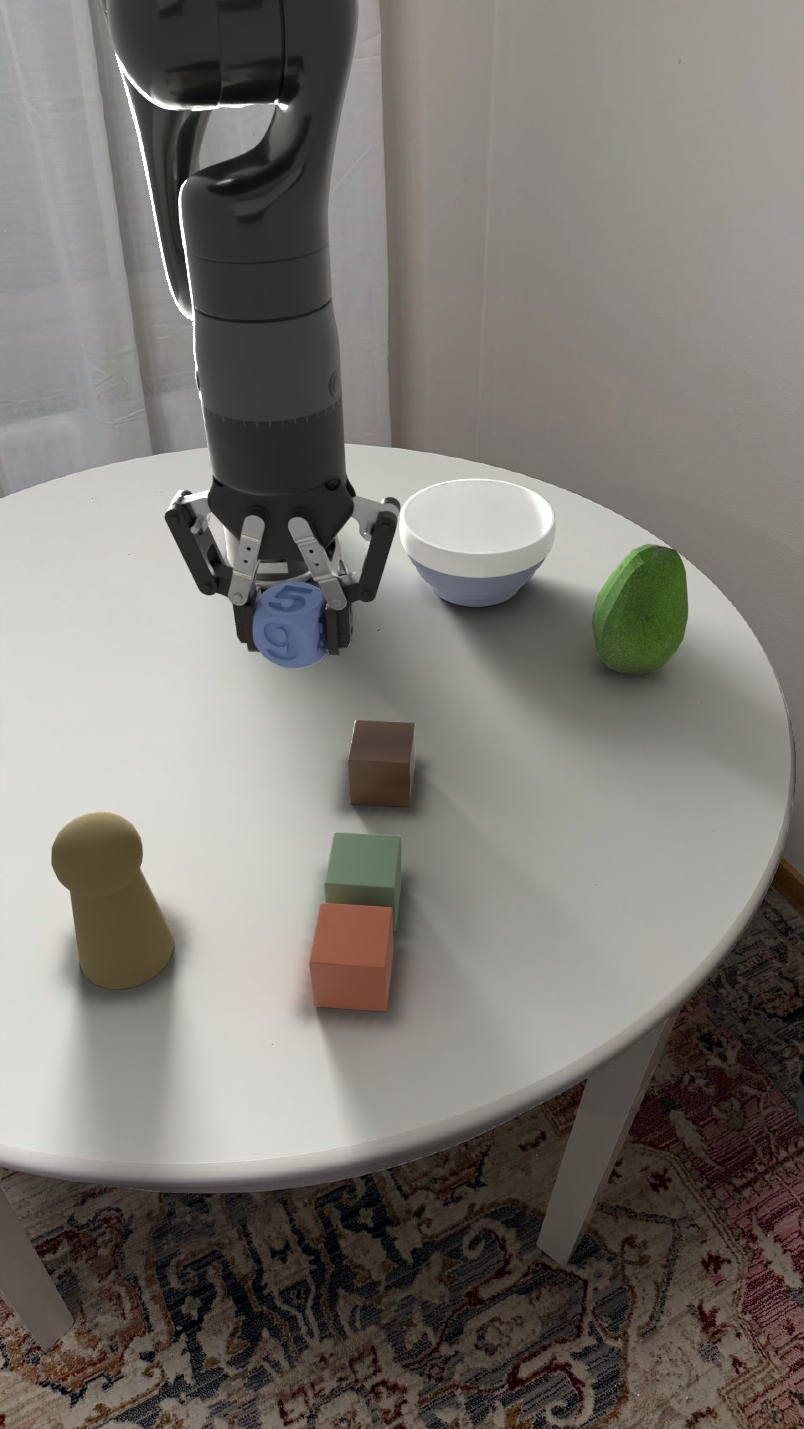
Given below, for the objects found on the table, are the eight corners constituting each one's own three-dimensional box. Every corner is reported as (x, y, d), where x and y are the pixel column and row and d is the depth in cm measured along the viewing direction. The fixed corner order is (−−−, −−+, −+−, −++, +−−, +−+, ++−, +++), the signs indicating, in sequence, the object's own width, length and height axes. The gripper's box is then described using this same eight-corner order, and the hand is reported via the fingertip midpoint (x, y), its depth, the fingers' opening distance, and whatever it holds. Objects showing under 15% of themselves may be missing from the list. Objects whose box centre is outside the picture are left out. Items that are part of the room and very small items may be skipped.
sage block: (337, 876, 70) (333, 831, 67) (402, 879, 69) (401, 835, 66) (328, 928, 66) (323, 883, 63) (395, 932, 66) (394, 887, 63)
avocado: (692, 686, 85) (719, 565, 77) (604, 699, 84) (623, 577, 76) (655, 633, 91) (676, 515, 83) (572, 644, 90) (587, 526, 82)
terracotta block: (324, 946, 65) (320, 902, 62) (393, 951, 65) (392, 906, 62) (313, 1006, 62) (308, 962, 59) (386, 1012, 61) (385, 967, 58)
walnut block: (357, 763, 78) (355, 719, 76) (415, 766, 78) (414, 722, 75) (350, 804, 75) (347, 760, 72) (410, 807, 75) (409, 763, 72)
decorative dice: (336, 637, 66) (332, 585, 63) (315, 673, 63) (310, 620, 60) (279, 628, 66) (273, 576, 64) (255, 663, 64) (248, 610, 61)
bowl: (539, 543, 103) (545, 475, 99) (560, 624, 92) (568, 553, 87) (398, 547, 103) (397, 479, 98) (402, 629, 92) (401, 557, 87)
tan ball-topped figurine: (87, 916, 67) (47, 799, 60) (178, 909, 68) (149, 792, 61) (72, 993, 63) (27, 877, 56) (169, 985, 63) (138, 869, 56)
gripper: (411, 364, 56) (412, 619, 67) (160, 357, 57) (202, 609, 68) (397, 420, 50) (401, 689, 61) (118, 411, 51) (171, 677, 62)
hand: (296, 645), depth 64 cm, fingers closed on decorative dice, 4 cm apart
